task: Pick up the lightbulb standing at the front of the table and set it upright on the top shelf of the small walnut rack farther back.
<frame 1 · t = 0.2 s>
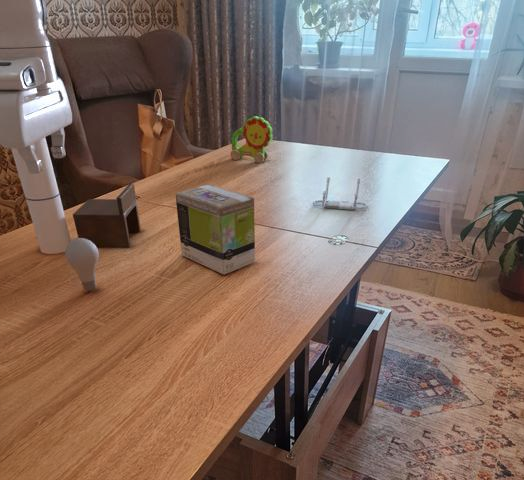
hand: (48, 164, 80), 25 cm above the table, tool pointing down, fingers open, 8 cm apart
lightbulb: (90, 291, 98), on the table
tea box: (218, 259, 110), on the table
wall mount rack: (340, 204, 140), on the table
cylindrical container: (56, 248, 115), on the table
toy lion: (252, 161, 180), on the table
rack: (111, 238, 120), on the table
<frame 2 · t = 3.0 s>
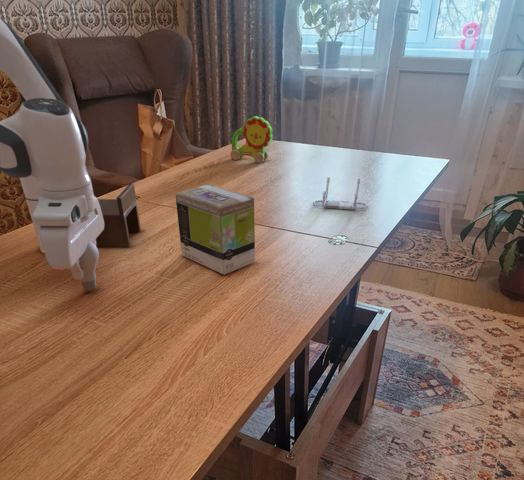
hand: (85, 269, 95), 5 cm above the table, tool pointing down, fingers closed on lightbulb, 6 cm apart
lightbulb: (91, 291, 98), on the table, touching gripper
everything else where it was.
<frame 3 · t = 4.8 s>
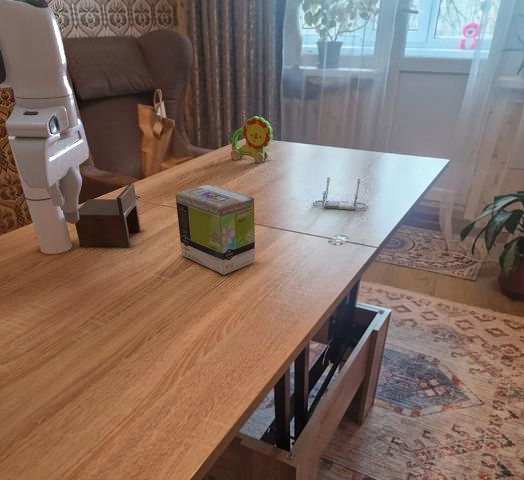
hand: (67, 198, 87), 19 cm above the table, tool pointing down, fingers closed on lightbulb, 6 cm apart
lightbulb: (73, 224, 90), point 14 cm above the table, touching gripper
everything else where it was.
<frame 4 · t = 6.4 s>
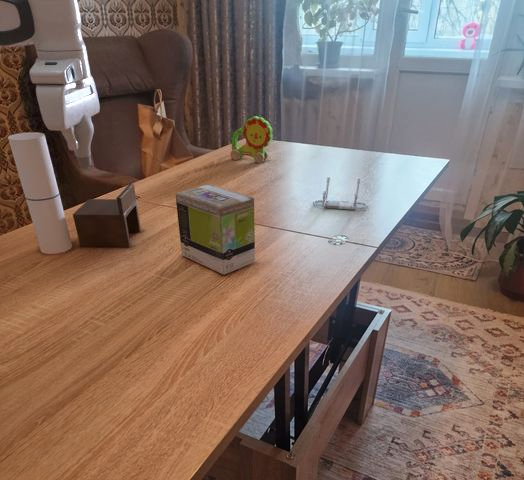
hand: (80, 145, 99), 24 cm above the table, tool pointing down, fingers closed on lightbulb, 6 cm apart
lightbulb: (86, 169, 102), point 19 cm above the table, touching gripper
everything else where it was.
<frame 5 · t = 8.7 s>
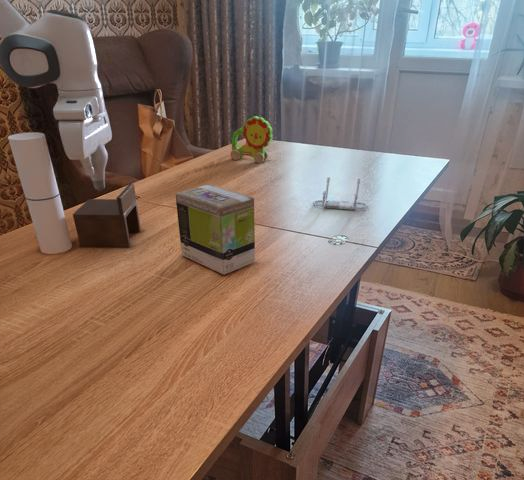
hand: (96, 170, 110), 16 cm above the table, tool pointing down, fingers closed on lightbulb, 6 cm apart
lightbulb: (100, 191, 113), point 12 cm above the table, touching gripper
everything else where it was.
when the fingers open (13 cm above the table, at t = 10.2 s): lightbulb stays where it is, resting on rack.
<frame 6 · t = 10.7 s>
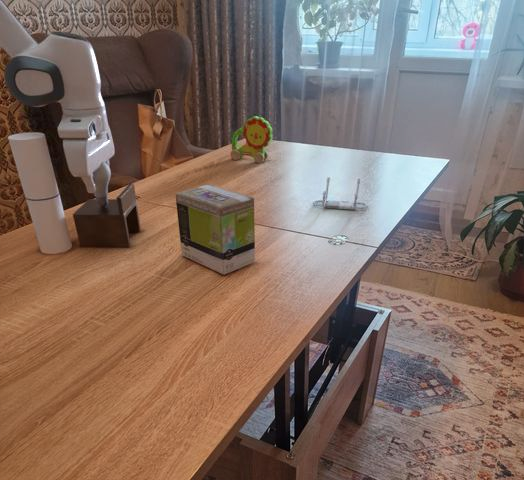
hand: (99, 185, 112), 13 cm above the table, tool pointing down, fingers open, 8 cm apart
lightbulb: (103, 207, 115), point 8 cm above the table, touching rack
everything else where it was.
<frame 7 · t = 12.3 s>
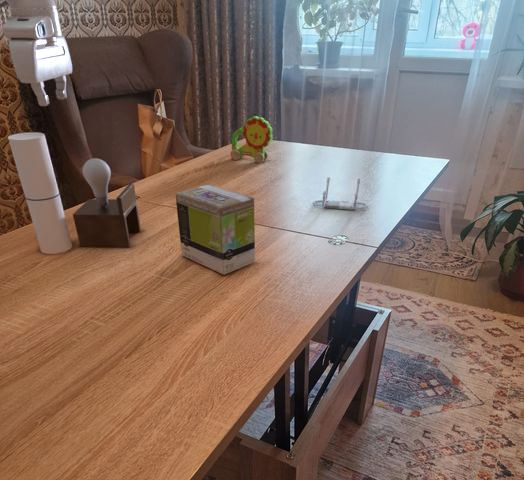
hand: (53, 102, 106), 30 cm above the table, tool pointing down, fingers open, 8 cm apart
nothing on the table moved.
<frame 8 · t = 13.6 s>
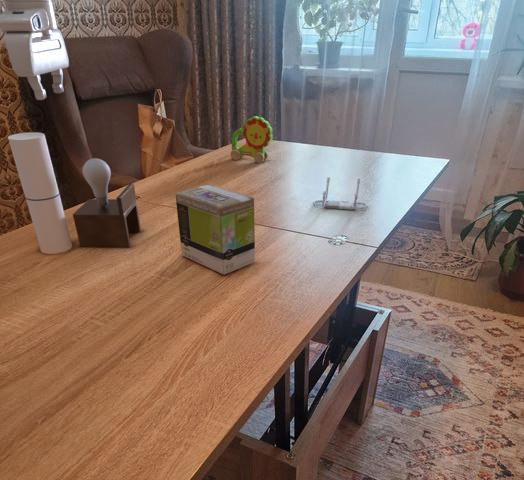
hand: (50, 96, 105), 31 cm above the table, tool pointing down, fingers open, 8 cm apart
nothing on the table moved.
at the end: lightbulb inside the target area on the rack (0.0 cm from its centre), point 7.8 cm above the rack's base; the gripper is holding nothing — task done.
